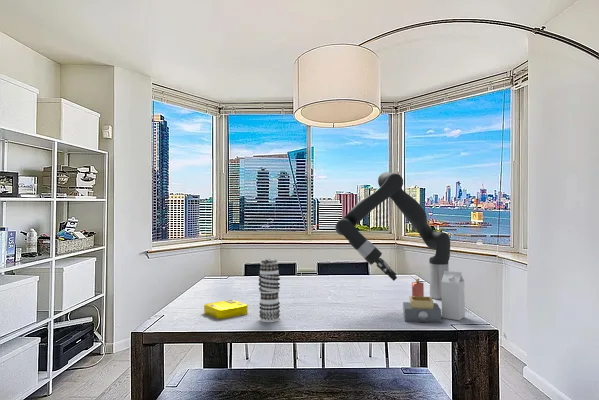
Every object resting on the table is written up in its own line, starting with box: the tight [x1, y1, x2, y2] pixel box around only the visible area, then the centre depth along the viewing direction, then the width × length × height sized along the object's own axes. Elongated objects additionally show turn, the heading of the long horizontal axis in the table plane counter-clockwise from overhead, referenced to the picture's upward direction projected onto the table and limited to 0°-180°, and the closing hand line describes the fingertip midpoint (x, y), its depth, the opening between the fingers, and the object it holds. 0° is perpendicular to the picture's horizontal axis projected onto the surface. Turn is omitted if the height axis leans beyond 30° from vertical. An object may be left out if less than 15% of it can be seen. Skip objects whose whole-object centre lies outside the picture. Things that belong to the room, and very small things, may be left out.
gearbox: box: [402, 295, 442, 324], centre depth 169 cm, size 13×14×8 cm
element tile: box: [203, 299, 248, 320], centre depth 181 cm, size 15×15×5 cm
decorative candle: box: [257, 258, 281, 323], centre depth 170 cm, size 9×9×25 cm
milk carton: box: [441, 270, 466, 321], centre depth 170 cm, size 7×7×19 cm
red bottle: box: [411, 277, 425, 297], centre depth 183 cm, size 5×5×14 cm
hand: (395, 277), depth 185 cm, fingers open, 8 cm apart
